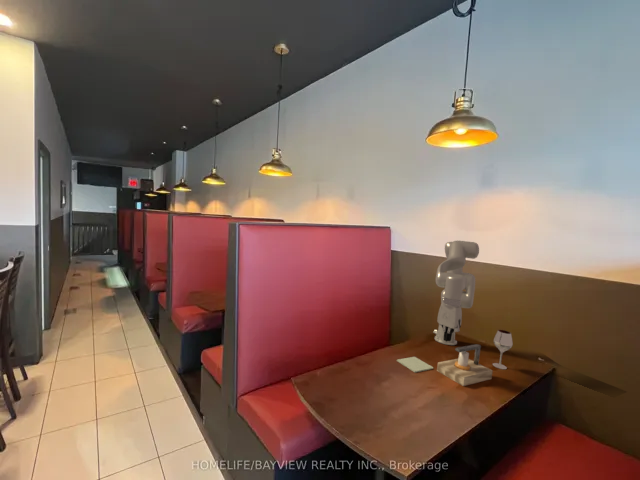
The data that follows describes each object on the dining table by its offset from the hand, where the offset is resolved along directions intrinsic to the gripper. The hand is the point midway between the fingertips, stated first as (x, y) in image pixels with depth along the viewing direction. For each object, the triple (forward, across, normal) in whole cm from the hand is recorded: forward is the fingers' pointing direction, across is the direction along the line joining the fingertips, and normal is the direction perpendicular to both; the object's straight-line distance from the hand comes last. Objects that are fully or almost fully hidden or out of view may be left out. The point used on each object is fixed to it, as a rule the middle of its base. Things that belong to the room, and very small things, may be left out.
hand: (447, 340), depth 145 cm
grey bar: (+10, +7, +7) cm, 14 cm away
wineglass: (+14, +7, +34) cm, 37 cm away
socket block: (+14, +7, +6) cm, 17 cm away
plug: (+14, +6, +4) cm, 16 cm away
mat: (+14, -8, -10) cm, 19 cm away
